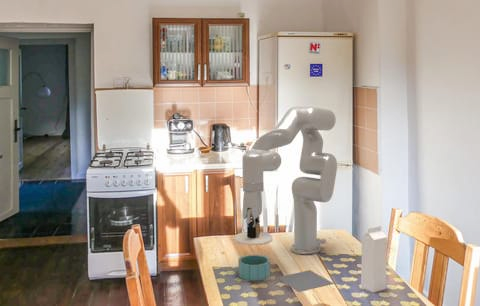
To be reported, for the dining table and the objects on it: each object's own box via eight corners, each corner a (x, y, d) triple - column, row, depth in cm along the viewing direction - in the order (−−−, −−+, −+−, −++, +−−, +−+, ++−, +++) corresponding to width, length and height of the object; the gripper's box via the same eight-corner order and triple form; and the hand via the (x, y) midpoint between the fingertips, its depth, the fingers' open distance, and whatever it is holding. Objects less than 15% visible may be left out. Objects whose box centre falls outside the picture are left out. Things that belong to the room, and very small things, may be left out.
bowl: (260, 268, 200) (260, 253, 199) (275, 277, 189) (275, 262, 189) (233, 273, 194) (233, 258, 194) (247, 283, 184) (247, 267, 183)
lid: (260, 232, 199) (260, 216, 198) (279, 241, 187) (279, 225, 186) (228, 237, 193) (228, 221, 192) (245, 247, 181) (245, 230, 180)
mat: (310, 271, 195) (310, 270, 195) (334, 284, 182) (334, 283, 182) (276, 278, 189) (276, 277, 189) (298, 293, 175) (298, 291, 175)
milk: (386, 290, 177) (387, 228, 174) (372, 294, 174) (374, 230, 171) (373, 284, 182) (375, 223, 179) (360, 287, 179) (361, 226, 176)
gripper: (249, 182, 196) (250, 228, 199) (236, 190, 181) (236, 241, 183) (269, 183, 194) (269, 230, 196) (256, 192, 178) (257, 243, 181)
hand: (253, 235), depth 190 cm, fingers closed on lid, 4 cm apart
